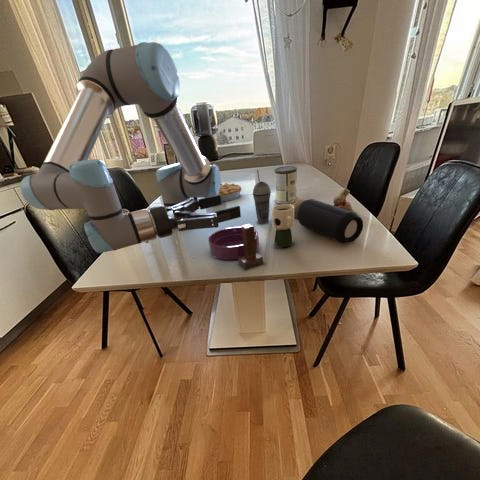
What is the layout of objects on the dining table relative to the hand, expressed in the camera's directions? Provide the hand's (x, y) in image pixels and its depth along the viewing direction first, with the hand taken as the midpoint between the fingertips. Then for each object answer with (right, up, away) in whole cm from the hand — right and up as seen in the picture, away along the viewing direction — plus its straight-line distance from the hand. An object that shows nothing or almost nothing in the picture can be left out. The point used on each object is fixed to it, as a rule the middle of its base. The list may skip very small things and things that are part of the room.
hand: (229, 205), depth 77 cm
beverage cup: (+13, +10, +42) cm, 45 cm away
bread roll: (+28, +14, +44) cm, 54 cm away
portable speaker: (+34, 0, +26) cm, 43 cm away
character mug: (+18, -5, +22) cm, 29 cm away
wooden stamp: (+6, -14, +13) cm, 20 cm away
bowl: (+1, -7, +23) cm, 24 cm away
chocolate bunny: (+46, +14, +41) cm, 63 cm away
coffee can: (+25, +27, +62) cm, 72 cm away
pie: (-7, +36, +78) cm, 86 cm away
